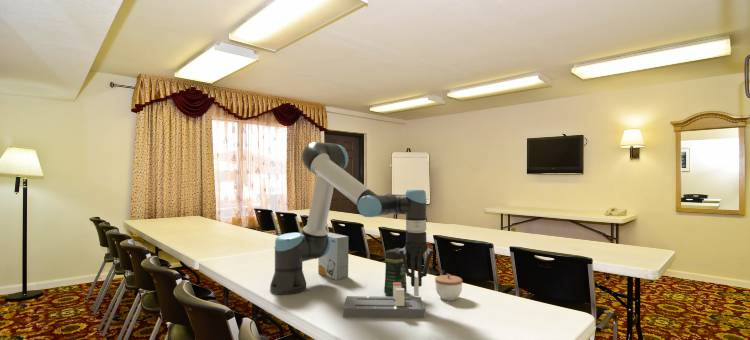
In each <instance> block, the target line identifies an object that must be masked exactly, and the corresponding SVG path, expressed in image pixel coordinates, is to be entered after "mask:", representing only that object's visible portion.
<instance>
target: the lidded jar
mask: <svg viewBox="0 0 750 340" xmlns="http://www.w3.org/2000/svg"><path fill="white" fill-rule="evenodd" d="M434 281H435V282H434V284H435V289H436V293H437V295H438V296H439V297H440V299H441V300H444V301H448V302H449V301H455V300H457V298H459V297H460V295H461V292H462V289H463V279H462V277H460V276H456V275H451V274H450V273H448V274H445V275H443V274H441V275H437V276H435V278H434Z"/></svg>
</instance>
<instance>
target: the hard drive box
mask: <svg viewBox="0 0 750 340" xmlns="http://www.w3.org/2000/svg"><path fill="white" fill-rule="evenodd" d="M327 235H328V236H329V238H330V239H329V240H330V249H329V251H328V252H327V254H326V255H324V256H322V257H320V258H317V259H318V261H317V262H318V265H317V266H318V269H317V270H318V274H320V275H322V276H325V277H328V278H330V279H333V280H336V281H337V280H343V279H345V278H349V235H348V236H347V235H345V234H344V235H343V234H339V233H333V232H328V234H327Z"/></svg>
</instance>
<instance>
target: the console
mask: <svg viewBox="0 0 750 340" xmlns="http://www.w3.org/2000/svg"><path fill="white" fill-rule="evenodd" d="M425 310H426V309H425V306H424V303H423V300H422V297H421V296H404V306H396V304H395V299H393V296H373V295H372V296H370V295H366V296H365V295H364V296H362V295H361V296H360V295H357V296H356V295H349V296H348V295H346V298H345V301H344V304H343V308H342V317H343V318H370V319H371V318H373V319H374V318H379V319H380V318H386V319H425Z"/></svg>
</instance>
